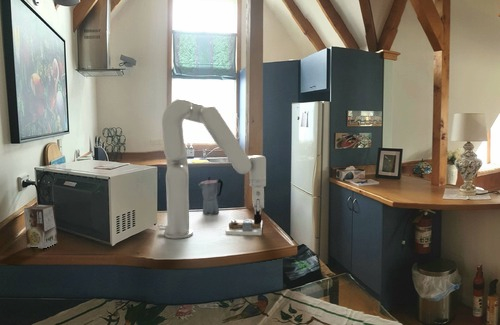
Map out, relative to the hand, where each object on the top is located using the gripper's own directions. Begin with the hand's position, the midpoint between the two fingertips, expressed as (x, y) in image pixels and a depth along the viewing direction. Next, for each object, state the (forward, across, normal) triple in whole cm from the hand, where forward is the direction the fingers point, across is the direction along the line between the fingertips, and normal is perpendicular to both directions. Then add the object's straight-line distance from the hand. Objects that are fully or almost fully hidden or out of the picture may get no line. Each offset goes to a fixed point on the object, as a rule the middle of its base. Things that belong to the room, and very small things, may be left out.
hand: (257, 221), depth 159 cm
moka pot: (+5, +32, +25) cm, 40 cm away
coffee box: (+4, -19, +88) cm, 90 cm away
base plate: (+5, +3, +6) cm, 8 cm away
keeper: (+3, -2, +8) cm, 8 cm away
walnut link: (+2, 0, +6) cm, 6 cm away
